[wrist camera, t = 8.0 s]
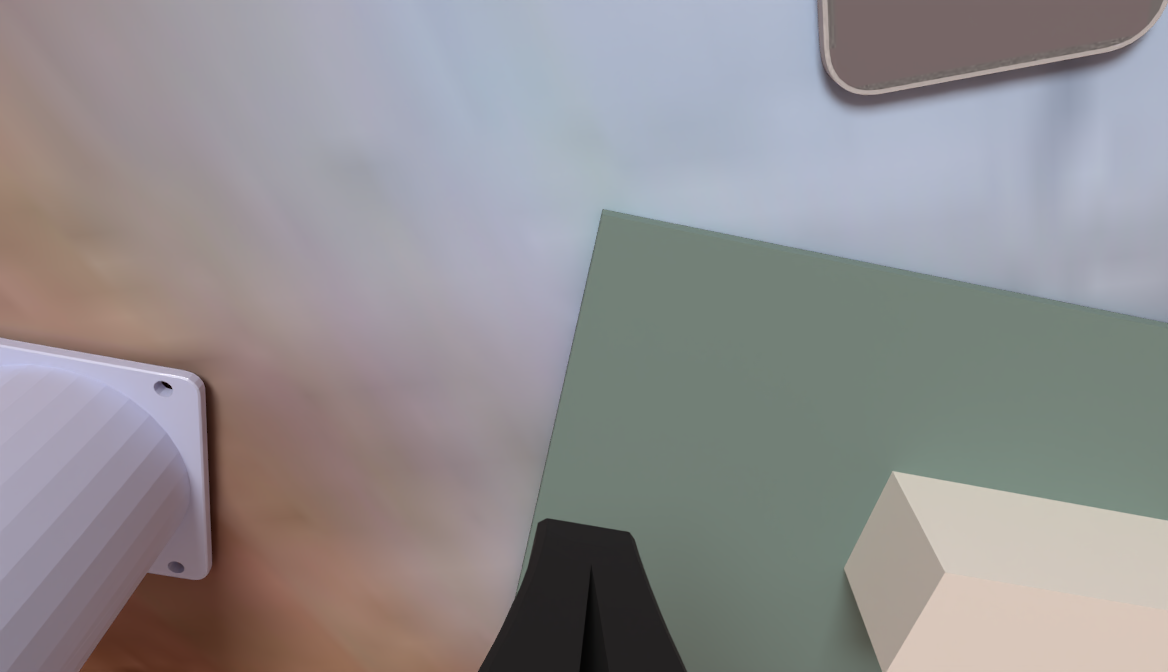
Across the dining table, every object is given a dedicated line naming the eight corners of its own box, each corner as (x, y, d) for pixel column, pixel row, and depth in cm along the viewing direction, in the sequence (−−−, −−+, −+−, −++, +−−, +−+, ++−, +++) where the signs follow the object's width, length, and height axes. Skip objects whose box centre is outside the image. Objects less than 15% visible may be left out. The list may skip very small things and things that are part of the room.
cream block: (884, 676, 21) (1217, 729, 22) (944, 572, 19) (1307, 634, 20) (843, 568, 25) (1133, 616, 26) (892, 471, 23) (1203, 527, 24)
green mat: (506, 635, 27) (505, 645, 27) (602, 209, 20) (602, 214, 19) (1089, 726, 29) (1095, 736, 29) (1384, 366, 21) (1397, 374, 21)
